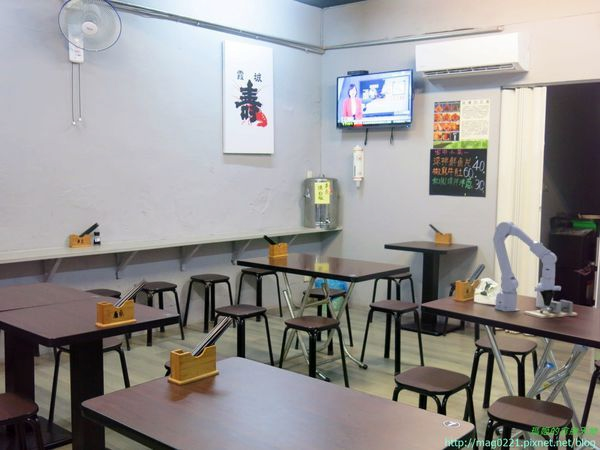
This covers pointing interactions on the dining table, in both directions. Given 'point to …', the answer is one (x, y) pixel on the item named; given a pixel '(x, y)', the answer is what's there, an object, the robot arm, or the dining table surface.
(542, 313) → the bolt board
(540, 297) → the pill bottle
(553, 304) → the grey block with hole
